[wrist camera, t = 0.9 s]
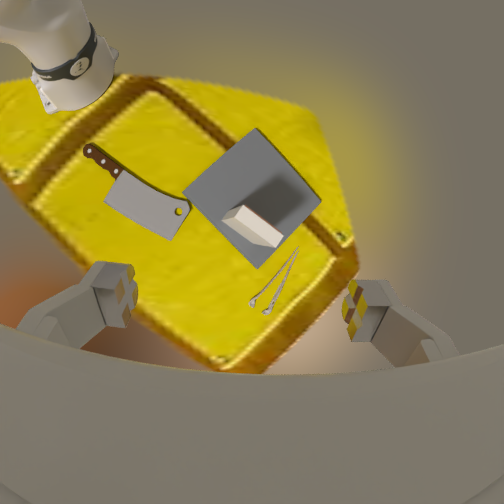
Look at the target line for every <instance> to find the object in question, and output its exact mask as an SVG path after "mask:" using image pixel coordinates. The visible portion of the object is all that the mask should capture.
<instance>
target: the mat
mask: <svg viewBox="0 0 504 504" xmlns="http://www.w3.org/2000/svg"><path fill="white" fill-rule="evenodd" d="M182 193H183V194H184V195H185V196H186V197H187V198H188V199H189V200H190V201H191V202H192V204H193V205H194V206H195V207H196V208H197V209H198V210H199V211H200V212H201V213H202V214H203V215H204V216H205V217H206V218H207V219H208V220H209V221H210V222H211V223H212V224H213V225H214V226H215V227H216V228H217V229H218V230H219V231H220V232H221V233H222V234H223V235H224V236H225V237H226V238H227V239H228V240H229V241H230V242H231V243H232V244H233V245H234V246H235V247H236V248H237V249H238V251H239V252H240V253H241V254H242V255H243V256H244V257H245V258H246V259H247V260H248V261H249V262H250V263H251V264H252V265H253V266H254V267H255V268H256V269H258V268H259V267H260V266H261V265H262V264H263V263H264V262H265V261H266V260H267V259H268V258H269V257H270V256H271V255H272V254H273V253H274V252H275V251H276V249H277V248H278V247H279V246H280V245H281V244H282V243H283V242H284V241H285V240H286V239H287V238H288V237H289V236H290V235H291V234H292V233H293V231H294V230H295V229H296V228H297V227H298V226H299V225H300V224H301V223H302V222H303V221H304V220H305V219H306V218H307V217H308V216H309V214H310V213H311V212H312V211H313V210H314V209H315V208H316V207H317V206H318V205H319V204H320V203H321V201H320V200H319V199H318V197H317V196H316V195H315V194H314V193H313V191H312V190H311V189H310V188H309V187H308V186H307V184H306V183H305V182H304V181H303V180H302V179H301V177H300V176H299V175H298V174H297V173H296V172H295V171H294V169H293V168H292V167H291V166H290V165H289V164H288V163H287V162H286V160H285V159H284V158H283V157H282V156H281V155H280V154H279V153H278V152H277V151H276V150H275V148H274V147H273V146H272V145H271V144H270V143H269V142H268V141H267V140H266V139H265V138H264V137H263V136H262V135H261V134H260V133H259V132H258V131H257V130H256V128H254V129H253V130H252V131H251V132H249V133H248V134H247V135H246V136H245V137H243V138H242V139H241V140H240V141H239V142H237V143H236V144H235V145H234V146H233V147H232V148H230V149H229V150H228V151H227V152H226V153H225V154H223V155H222V156H221V157H220V158H219V159H218V160H217V161H216V162H214V163H213V164H212V165H211V166H210V167H209V168H208V169H207V170H206V171H204V172H203V173H202V174H201V175H200V176H199V177H198V178H197V179H196V180H195V181H194V182H193V183H191V184H190V185H189V186H188V187H187V188H186V189H185V190H184V191H183V192H182ZM242 205H246V206H248V207H249V208H250V209H252V210H253V211H254V212H256V213H257V214H258V215H260V216H261V217H262V218H264V219H265V220H266V221H268V222H269V223H270V224H272V225H273V226H274V227H276V228H277V229H278V230H279V231H281V232H282V235H283V238H282V239H281V241H280V242H279V244H278V245H277V247H276V248H274V247H269V246H263V245H258V244H253V243H251V242H250V241H249V240H247V239H246V238H245V237H243V236H242V235H240V234H239V233H238V232H236V231H235V230H234V229H232V228H231V227H229V226H228V225H227V224H225V223H224V222H222V221H221V220H222V219H223V217H224V216H225V214H226V213H227V212H228V211H229V210H232V209H234V208H237V207H239V206H242Z"/></svg>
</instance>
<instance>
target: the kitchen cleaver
mask: <svg viewBox="0 0 504 504" xmlns="http://www.w3.org/2000/svg"><path fill="white" fill-rule="evenodd" d="M83 154H84V156H86V157H87V158H92V159H94V160H95V162H96V163H97V164H98V165H99V166H101V167H102V168H103V169H106V170H108V171H109V172H110V174H111V176H112V177H114V178H115V183H114V184H113V186H112V188H111V189H110V191H109V193H108V194H107V196H106V198H105V200H104V201H103V202H105V203H106V204H108V205H109V206H111V207H112V208H114V209H115V210H116V211H118V212H120V213H121V214H123V215H124V216H126V217H128V218H129V219H131V220H133V221H134V222H136V223H138V224H140V225H141V226H143V227H145V228H147V229H149V230H151V231H152V232H154V233H157V234H158V235H160V236H162V237H164V238H166V239H167V240H170V241H171V240H172V238H173V237H174V235H175V233H176V232H177V230H178V229H179V227H180V225H181V224H182V222H183V221H184V219H185V217H186V216H187V214H188V213H189V211H190V208H189V206H188V203H187V202H186V201H182V200H178V199H174V198H171V197H169V196H167V195H164V194H162V193H160V192H157V191H156V190H154V189H152V188H150V187H149V186H147V185H145V184H144V183H142V182H141V181H139V180H138V179H136V178H135V177H133V176H132V175H131V174H129V173H128V172H126V171H125V170H124V169H123V168H122V167H120V166H119V165H118V164H116V163H115V162H114V161H112V160H111V159H110V158H108V157H107V156H106V155H105V154H103V153H102V152H101V151H99V150H98V149H97V148H95V147H94V146H93V145H91V144H86V145H85V147H84V148H83ZM176 208H181V209H182V211H183V212H182V214H181V215H180V216H177V215H176V214H175V209H176Z"/></svg>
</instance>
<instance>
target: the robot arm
mask: <svg viewBox="0 0 504 504" xmlns="http://www.w3.org/2000/svg"><path fill="white" fill-rule="evenodd" d="M0 42H3V43H8V44H12V45H14V46H16V47H17V48H18V49H19V50H21V51H22V52H23V53H24V54H25V55H26V56H27V58H28V59H29V60H30V61H31V64H32V67H33V69H34V71H33V76H32V77H31V80H32V82H33V83H34V84H36V87H37V89H38V92H39V94H40V97H41V100H42V103H43V105H44V108H45V110H46V112H47V113H48V114H52V113H55V112H58V111H61V110H67V111H71V110H77V109H80V108H83V107H85V106H87V105H89V104H91V103H92V102H94V101H95V100H97V99H98V98H99V97H100V96H101V95H102V94H103V93H104V92H105V91H106V89H107V88H108V86H109V85H110V83H111V81H112V78H113V75H114V64H115V62H116V60H117V58H118V55H119V53H118V51H117V50H116V49H114V48H112V47H110V46H108V44H107V41H106V39H105V38H104V37H101V36H99V35H96V32H95V29H94V28H93V26H92V24H91V23H90V22H88V19H87V16H86V13H85V10H84V7H83V4H82V2H81V0H0ZM49 104H50V105H49ZM134 275H135V271H134V267H133V266H132V265H131V264H123V263H114V262H106V261H96V262H95V263H94V264H93V266H92V267H91V268H90V270H89V271H88V272H87V274H86V275H85V276H84V278H83V279H82V280H81V282H80V283H79V284H78V285H73V286H71V287H69V288H68V289H66V290H64V291H62V292H60V293H58V294H56V295H55V296H53V297H51V298H49V299H47V300H46V301H44V302H42V303H40V304H38V305H36V306H35V307H33V308H31V309H29V311H28V312H27V314H26V315H25V316H24V318H23V319H22V321H21V322H20V323H19V325H18V327H17V328H16V329H13V328H10V327H8V326H5V325H2V324H0V504H504V344H502V345H499V346H495V347H492V348H488V349H485V350H481V351H477V352H473V353H469V354H465V355H461V356H460V355H459V353H458V351H457V349H456V347H455V345H454V344H453V342H452V340H451V339H450V337H449V336H448V335H447V334H446V333H444V332H443V331H441V330H440V329H439V328H438V327H436V326H435V325H433V324H432V323H430V322H429V321H428V320H426V319H424V318H423V317H421V316H420V315H419V314H417V313H416V312H415V311H413V310H412V309H410V308H409V307H407V306H403V305H402V303H401V301H400V299H399V298H398V296H397V294H396V293H395V291H394V289H393V288H392V286H391V285H390V283H389V282H388V281H387V280H351V282H350V284H349V286H348V290H349V292H350V293H349V294H348V295H347V296H346V297H345V298H344V301H343V304H342V316H343V319H344V321H345V322H346V323H347V324H349V325H348V328H347V331H348V334H349V337H350V339H351V342H371V343H372V344H373V345H374V346H375V347H376V349H378V351H379V352H380V353H382V355H383V356H384V357H385V358H386V359H387V360H388V361H389V362H390V363H391V364H392V365H393V366H394V367H395V368H388V369H380V370H371V371H361V372H349V373H334V374H333V373H332V374H306V375H267V374H240V373H224V372H211V371H201V370H190V369H182V368H174V367H166V366H160V365H153V364H147V363H141V362H136V361H130V360H125V359H120V358H115V357H110V356H105V355H101V354H97V353H92V352H88V351H84V350H80V348H81V347H82V346H83V345H84V344H85V343H87V342H88V341H89V340H90V339H91V338H93V337H94V336H95V335H96V334H97V333H99V332H100V331H101V330H102V329H103V328H105V327H106V325H107V326H113V327H120V328H126V326H127V324H128V322H129V319H130V317H131V314H130V310H132V309H133V308H135V306H136V303H137V299H138V287H137V283H136V282H135V281H134V280H133V277H134Z"/></svg>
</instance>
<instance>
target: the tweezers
mask: <svg viewBox="0 0 504 504" xmlns="http://www.w3.org/2000/svg"><path fill="white" fill-rule="evenodd" d="M298 247H299V246H298ZM298 247H297V248H298ZM297 248H296V250H297ZM296 250H295V251H296ZM295 251H294V252H293V254H294V253H295ZM293 254H292V255H291V256H290V258H289V259H288V260H287V262H286V263H285V264H284V265H283V267H282V268H281V269H280V270H279V271H278V273H277V274H276V275H275V276H274V277H273V278H272V280H271V281H270V282H269V283H268V284H267V285H266V286H265V287H264V288H263V289H262V291H261V292H260V293H259V294H258V295H256V296H255V297H254V298H252V299H251V300H250V302H249V305H250V306H251V307H253V308H254V305H255V300H256V299H257V298H258V297H259V296H260V295H261V294H262V293H263V292H264V291H265V290H266V288H267V287H268V286H269V285H270V284H271V282H272V281H273V280H274V279H275V278H276V277H277V275H278V274H279V273H280V272H281V271H282V269H283V268H284V267H285V265H286V264H287V263H288V261H289V260H290V259H291V257H292V256H293ZM297 254H298V252H297ZM297 254H296V255H295V257H294V258H293V260H292V262H291V265H290V267H289V269H288V271H287V273H286V275H285V277H284V279H283V281H282V283H281V284H280V286H279V287H278V289H277V291H276V293H275V295H274V297H273V299H272V301H271V303H270V305H269V307H268V308H267V309H266V310H265V311H263V312H262V313H263V314H264V315H268V314H270V312H271V311H272V307H273V305H274V303H275V301H276V299H277V298H278V296H279V294H280V291H281V289H282V287H283V284H284V282H285V280H286V278H287V275H288V273H289V271H290V268H291V266H292V264H293V262H294V260H295V258H296V256H297ZM273 301H274V303H273ZM272 303H273V304H272Z"/></svg>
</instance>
